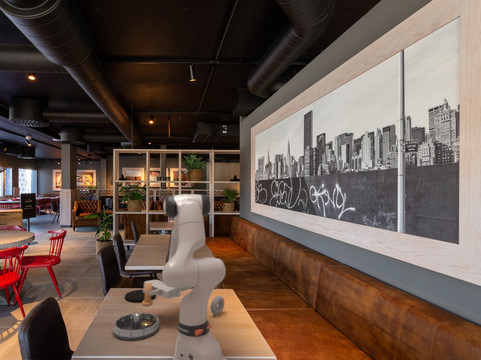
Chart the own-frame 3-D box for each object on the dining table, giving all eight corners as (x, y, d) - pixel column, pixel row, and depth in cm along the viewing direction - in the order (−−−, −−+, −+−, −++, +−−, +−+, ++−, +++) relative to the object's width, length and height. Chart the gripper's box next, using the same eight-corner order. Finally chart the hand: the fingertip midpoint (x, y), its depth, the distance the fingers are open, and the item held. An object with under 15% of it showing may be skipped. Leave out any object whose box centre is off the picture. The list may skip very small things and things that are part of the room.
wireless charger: (121, 303, 179) (121, 300, 179) (128, 292, 196) (128, 289, 196) (153, 303, 181) (153, 299, 181) (157, 292, 199) (158, 289, 199)
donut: (214, 318, 163) (214, 299, 163) (208, 317, 165) (209, 297, 165) (225, 312, 171) (226, 294, 171) (220, 311, 173) (221, 292, 173)
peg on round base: (154, 303, 153) (155, 283, 153) (148, 307, 149) (149, 285, 149) (146, 301, 155) (147, 281, 155) (140, 305, 150) (141, 284, 151)
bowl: (167, 329, 149) (167, 313, 149) (128, 345, 133) (129, 327, 133) (142, 317, 161) (143, 302, 161) (104, 330, 146) (105, 313, 146)
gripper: (157, 275, 168) (134, 280, 158) (182, 284, 155) (159, 290, 145) (157, 287, 168) (134, 293, 158) (182, 297, 155) (158, 304, 145)
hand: (146, 292), depth 151 cm, fingers closed on peg on round base, 3 cm apart
